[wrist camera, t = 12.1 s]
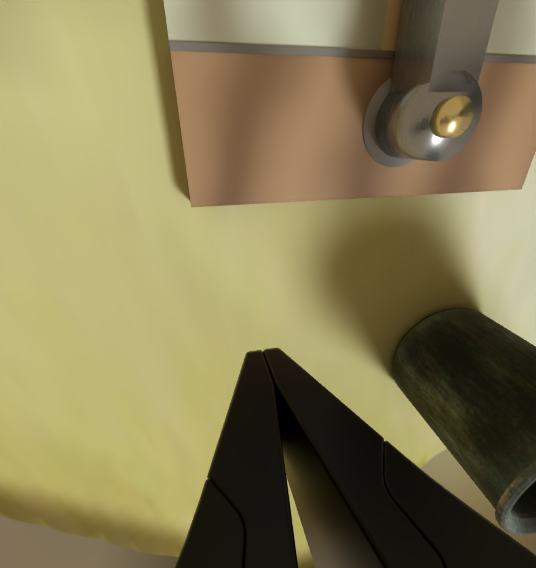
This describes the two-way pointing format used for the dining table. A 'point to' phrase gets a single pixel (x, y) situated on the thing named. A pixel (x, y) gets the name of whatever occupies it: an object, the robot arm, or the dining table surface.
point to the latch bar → (435, 79)
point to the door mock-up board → (331, 102)
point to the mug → (478, 404)
